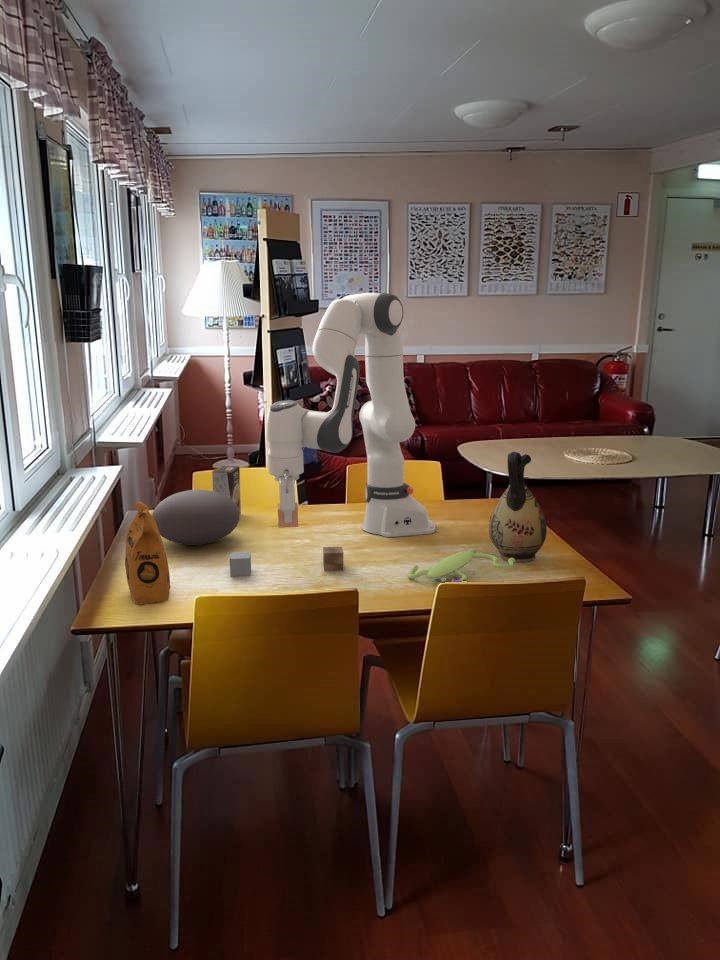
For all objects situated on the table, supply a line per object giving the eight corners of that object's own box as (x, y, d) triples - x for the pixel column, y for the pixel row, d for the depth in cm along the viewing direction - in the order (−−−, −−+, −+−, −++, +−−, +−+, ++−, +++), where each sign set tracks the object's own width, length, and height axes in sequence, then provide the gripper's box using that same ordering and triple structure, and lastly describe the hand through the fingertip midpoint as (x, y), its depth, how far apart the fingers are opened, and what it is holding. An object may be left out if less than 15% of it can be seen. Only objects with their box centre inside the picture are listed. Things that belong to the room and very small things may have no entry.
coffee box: (233, 521, 240) (231, 472, 236) (213, 521, 241) (211, 471, 237) (241, 513, 249) (239, 465, 245) (222, 512, 250) (220, 465, 246)
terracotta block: (297, 521, 198) (297, 502, 197) (298, 526, 193) (297, 508, 192) (278, 521, 197) (277, 503, 196) (278, 527, 193) (277, 508, 191)
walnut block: (342, 564, 203) (341, 546, 202) (343, 571, 198) (343, 552, 197) (323, 565, 202) (323, 547, 201) (324, 571, 198) (324, 553, 196)
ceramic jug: (497, 545, 219) (502, 442, 211) (550, 553, 212) (557, 448, 205) (477, 563, 204) (482, 453, 197) (534, 572, 197) (541, 459, 190)
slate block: (251, 569, 199) (250, 551, 198) (250, 576, 194) (249, 558, 193) (231, 570, 198) (231, 552, 197) (230, 577, 193) (229, 558, 192)
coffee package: (127, 607, 174) (120, 515, 169) (127, 588, 186) (120, 501, 181) (172, 602, 177) (166, 512, 172) (168, 583, 189) (163, 498, 183)
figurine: (523, 578, 195) (525, 557, 193) (446, 599, 181) (446, 578, 179) (475, 557, 209) (476, 539, 208) (400, 576, 195) (400, 556, 194)
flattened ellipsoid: (241, 553, 211) (239, 501, 207) (148, 557, 207) (145, 505, 203) (240, 526, 235) (238, 480, 231) (157, 530, 231) (154, 483, 227)
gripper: (299, 475, 182) (301, 530, 185) (297, 456, 201) (299, 506, 205) (273, 476, 181) (275, 531, 185) (273, 457, 201) (276, 507, 204)
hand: (288, 518), depth 195 cm, fingers closed on terracotta block, 5 cm apart
